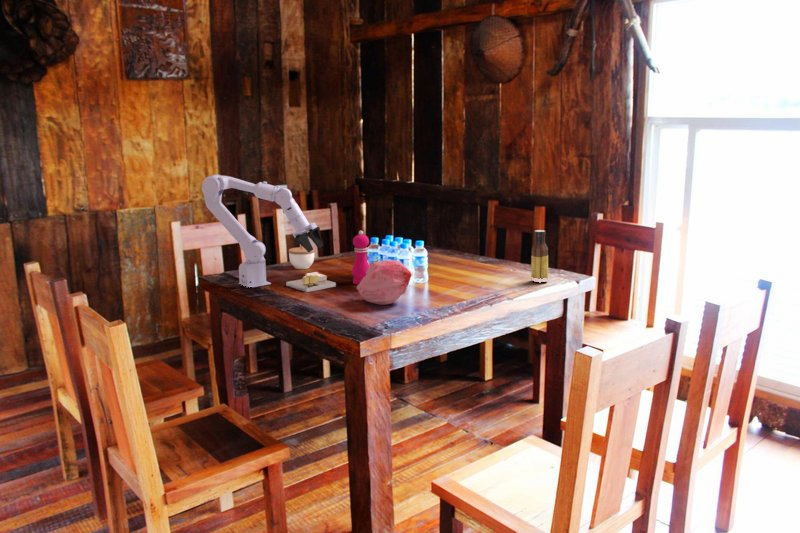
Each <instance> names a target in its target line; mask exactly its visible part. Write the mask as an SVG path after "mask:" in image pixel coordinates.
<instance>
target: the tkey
mask: <svg viewBox="0 0 800 533" xmlns="http://www.w3.org/2000/svg"><path fill="white" fill-rule="evenodd" d="M305 276H306V275H305ZM302 279H303V284H308V287H312V286H313V283H315V282H319V276H317V275H314V276H312V275H310V276H306V277H304V276H303V277H302Z"/></svg>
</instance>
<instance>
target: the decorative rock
mask: <svg viewBox="0 0 800 533" xmlns="http://www.w3.org/2000/svg"><path fill="white" fill-rule="evenodd" d="M369 266H370V267H369V269H368V270H367V271H366V276H365V277H363V279H362V281H361V282H360V284H357V285H356V290H357V292H358V293H359V295H360V296H361V297H362V299H363V300H365V301H366V302H368V303H371V304H376V305H378V306H379V305H383V306H385V305H391V304H394V303H395V302H397V301H398V300H399V298H401V296H402V295H404V294H405V293H406V292H407V287H408V286H409V284H410V281H411V278H412V272H411V271H410V269H408V268H407V267H406V266H405V264H403V262H401V261H400V260H396V259H387V260H379V261H374V262H371V264H369Z"/></svg>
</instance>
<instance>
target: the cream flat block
mask: <svg viewBox="0 0 800 533" xmlns="http://www.w3.org/2000/svg"><path fill="white" fill-rule="evenodd" d="M310 275H312V276H314V275H317V276H319V281H323V280H327V278H328V276H327V275H325V274H322V273H319V272H318V271H314V272H308V273H305V275H303V277H306V276H310Z"/></svg>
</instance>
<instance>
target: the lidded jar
mask: <svg viewBox="0 0 800 533" xmlns="http://www.w3.org/2000/svg"><path fill="white" fill-rule="evenodd" d="M315 251H316V250H315V248H313V250H312V251H311V252H308V251H307V250H306V249H305V248H304V247H302V246H301V245H300V246H299V247H291V248H289V249H288V257H289V261H290V264H291V266H293V267H294V269H297V270H305V269H306V270H307V269H310V267H311V266H312V265H313V263H314V260H315Z"/></svg>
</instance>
